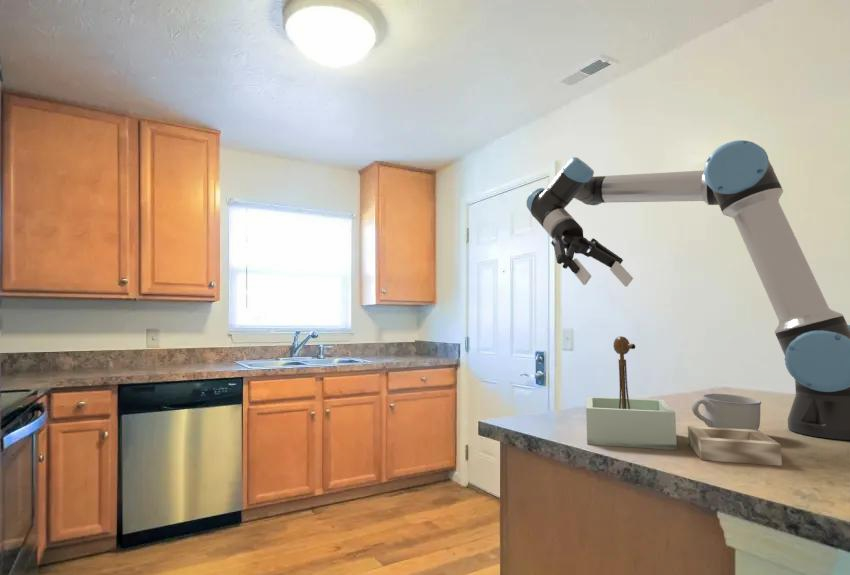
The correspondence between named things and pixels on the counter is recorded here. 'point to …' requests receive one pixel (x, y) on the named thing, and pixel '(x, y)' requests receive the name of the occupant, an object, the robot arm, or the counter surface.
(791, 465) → the counter surface
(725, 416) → the teacup
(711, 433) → the shallow wooden tray
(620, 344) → the wooden tabletop sculpture
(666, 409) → the bin
